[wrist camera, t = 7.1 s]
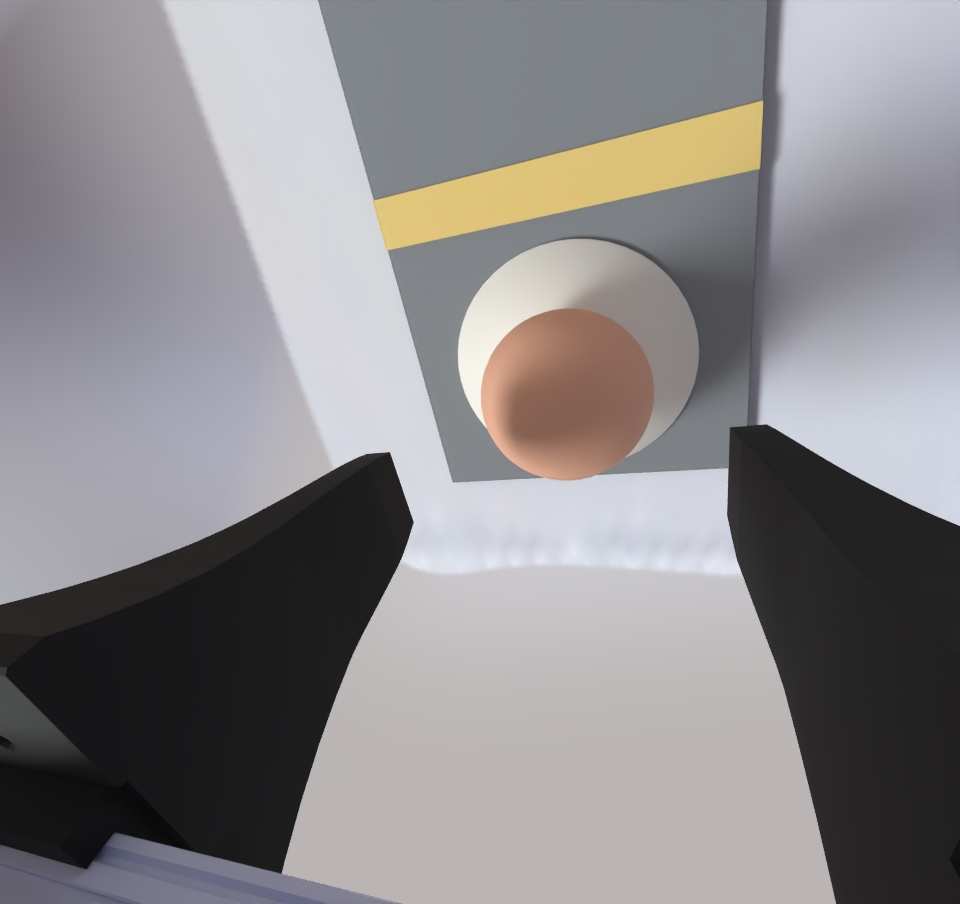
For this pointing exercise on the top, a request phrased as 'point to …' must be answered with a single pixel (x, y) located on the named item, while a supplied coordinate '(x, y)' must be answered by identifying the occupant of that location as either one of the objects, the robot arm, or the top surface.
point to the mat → (563, 173)
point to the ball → (567, 394)
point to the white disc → (594, 287)
